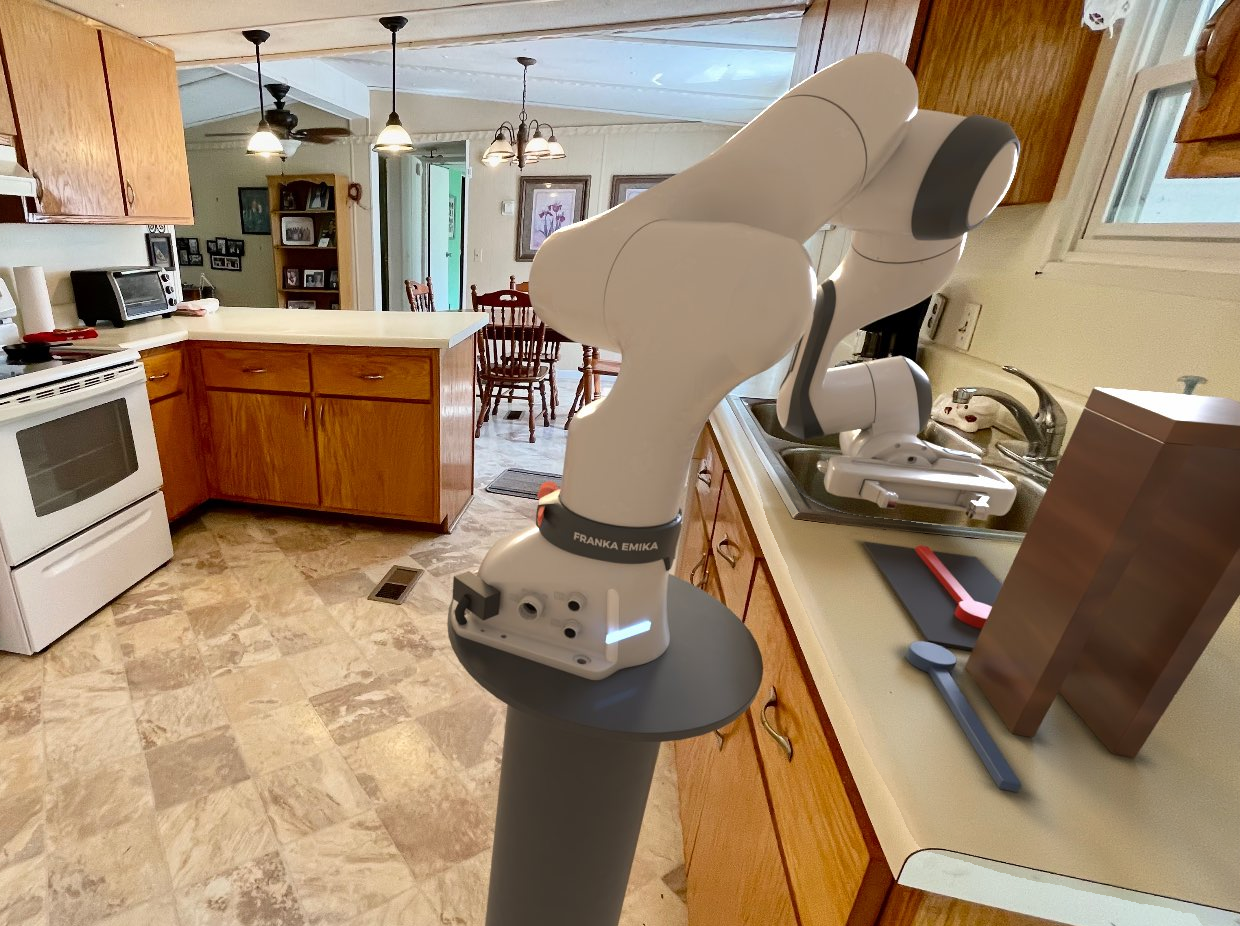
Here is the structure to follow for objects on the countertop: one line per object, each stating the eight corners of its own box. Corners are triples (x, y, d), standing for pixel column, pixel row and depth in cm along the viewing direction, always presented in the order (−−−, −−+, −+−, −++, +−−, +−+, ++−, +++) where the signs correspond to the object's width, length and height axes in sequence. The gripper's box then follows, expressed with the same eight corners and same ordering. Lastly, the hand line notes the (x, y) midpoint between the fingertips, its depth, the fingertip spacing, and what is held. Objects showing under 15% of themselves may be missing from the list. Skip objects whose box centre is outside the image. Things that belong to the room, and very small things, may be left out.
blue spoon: (1038, 797, 47) (1045, 785, 46) (978, 784, 48) (985, 772, 47) (943, 655, 62) (948, 645, 61) (899, 647, 63) (903, 637, 62)
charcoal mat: (927, 643, 64) (928, 640, 63) (862, 544, 83) (863, 541, 82) (1078, 669, 60) (1080, 666, 60) (974, 559, 79) (976, 556, 79)
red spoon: (903, 549, 81) (906, 540, 80) (937, 553, 80) (940, 545, 79) (963, 626, 66) (967, 616, 65) (1005, 633, 65) (1010, 622, 64)
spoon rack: (1011, 733, 53) (1176, 420, 42) (964, 666, 60) (1093, 387, 49) (1135, 758, 50) (1343, 434, 39) (1070, 685, 58) (1228, 398, 47)
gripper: (819, 438, 92) (845, 472, 80) (992, 456, 87) (1047, 495, 75) (807, 480, 95) (830, 519, 83) (974, 499, 89) (1024, 544, 78)
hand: (935, 508), depth 79 cm, fingers open, 8 cm apart
